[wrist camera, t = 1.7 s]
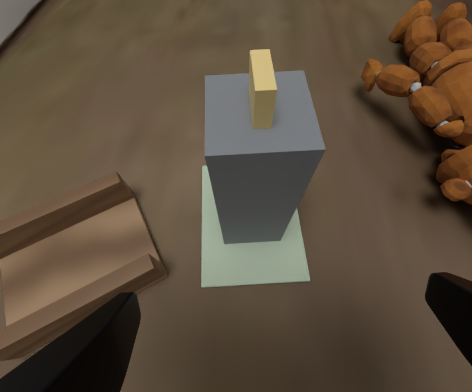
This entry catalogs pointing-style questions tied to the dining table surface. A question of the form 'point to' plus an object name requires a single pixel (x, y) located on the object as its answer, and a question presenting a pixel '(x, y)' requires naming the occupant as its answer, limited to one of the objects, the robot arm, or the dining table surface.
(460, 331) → the robot arm
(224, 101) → the slate block
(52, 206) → the walnut rack
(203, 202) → the sage mat
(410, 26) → the toy
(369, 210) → the dining table surface
